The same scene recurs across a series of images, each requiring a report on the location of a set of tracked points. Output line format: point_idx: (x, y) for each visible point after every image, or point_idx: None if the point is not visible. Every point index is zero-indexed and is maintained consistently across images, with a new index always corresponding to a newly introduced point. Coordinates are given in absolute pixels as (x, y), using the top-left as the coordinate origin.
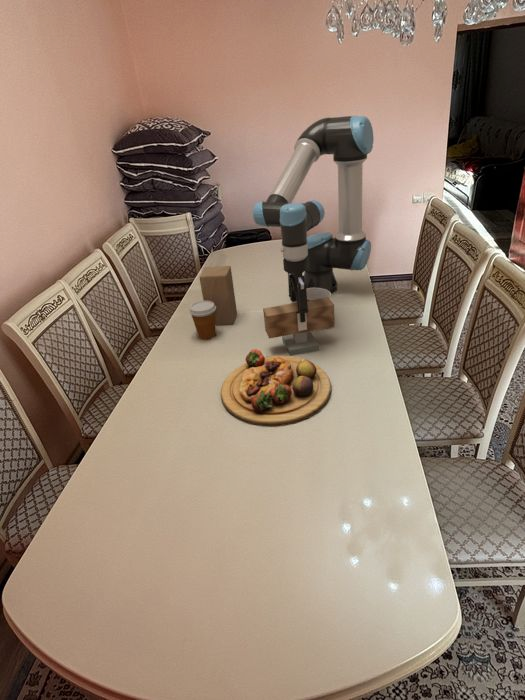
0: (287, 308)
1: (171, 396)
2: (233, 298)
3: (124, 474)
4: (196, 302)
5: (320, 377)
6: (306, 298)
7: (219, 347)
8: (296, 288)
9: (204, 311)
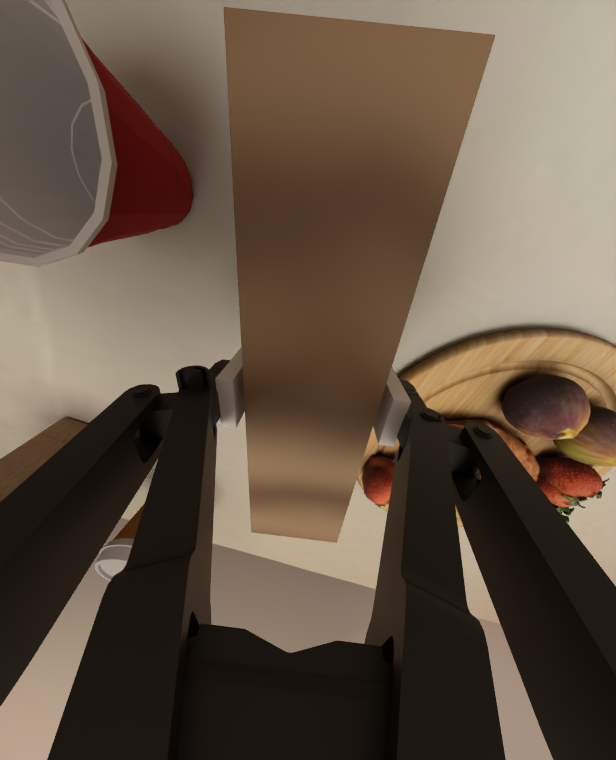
0: (302, 466)
1: (369, 552)
2: (27, 470)
3: (486, 594)
4: (106, 578)
5: (562, 360)
6: (592, 564)
7: (244, 482)
8: (203, 521)
9: None
